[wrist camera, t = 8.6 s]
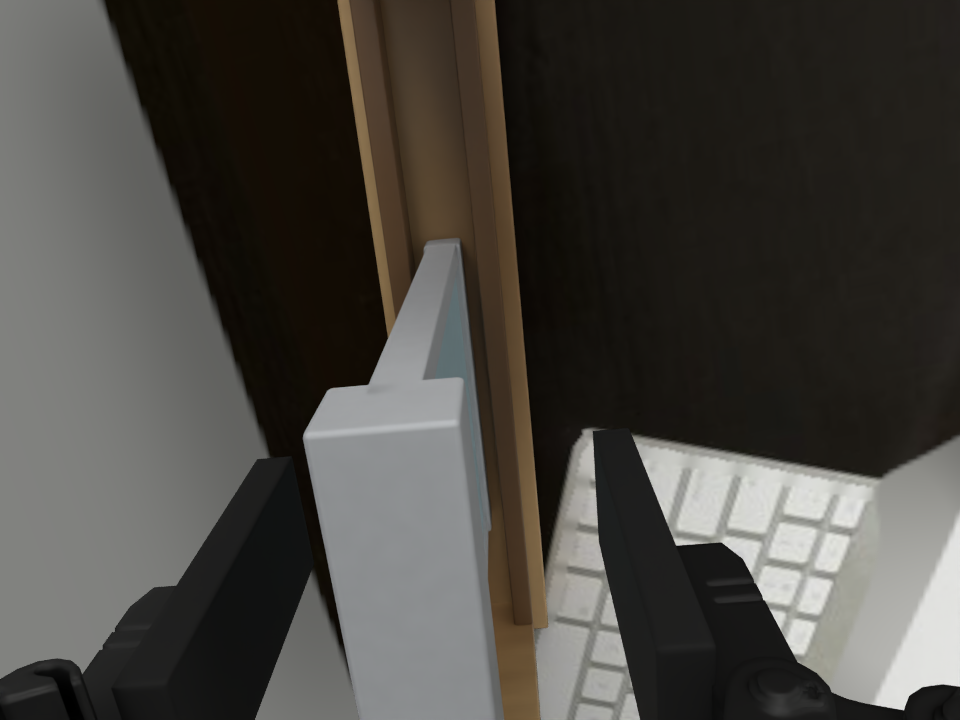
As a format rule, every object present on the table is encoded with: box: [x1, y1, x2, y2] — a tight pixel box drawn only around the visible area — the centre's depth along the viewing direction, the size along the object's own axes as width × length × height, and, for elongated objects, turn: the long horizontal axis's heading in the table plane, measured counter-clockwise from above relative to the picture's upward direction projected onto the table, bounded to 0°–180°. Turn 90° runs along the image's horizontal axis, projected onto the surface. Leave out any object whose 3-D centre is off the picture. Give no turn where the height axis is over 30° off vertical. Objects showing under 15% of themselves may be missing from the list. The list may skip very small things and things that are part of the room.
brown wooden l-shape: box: [337, 0, 548, 720], centre depth 16 cm, size 4×22×15 cm, turn 6°
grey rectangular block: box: [303, 238, 504, 720], centre depth 17 cm, size 2×9×12 cm, turn 6°
